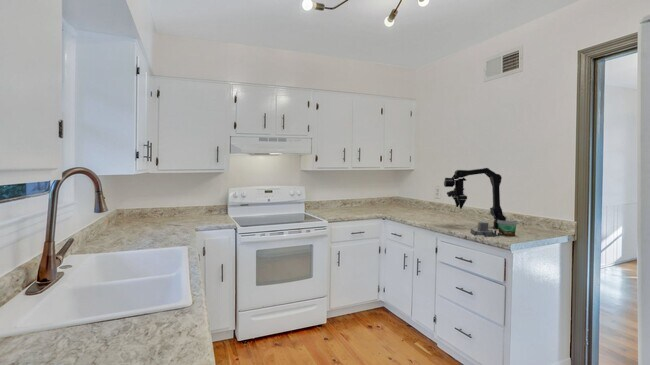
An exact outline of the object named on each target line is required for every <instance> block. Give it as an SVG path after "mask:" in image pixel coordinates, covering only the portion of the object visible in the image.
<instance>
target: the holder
mask: <svg viewBox="0 0 650 365" xmlns="http://www.w3.org/2000/svg"><path fill="white" fill-rule="evenodd" d="M491 230H492V229H489V228H488V229H486V231H479V230H478V231H477V230H475V229H473V228H470V233H471V234H472V235H474V236H482V235H483V232H485V233H486V235H493V233H494V230H493V231H491Z"/></svg>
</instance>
